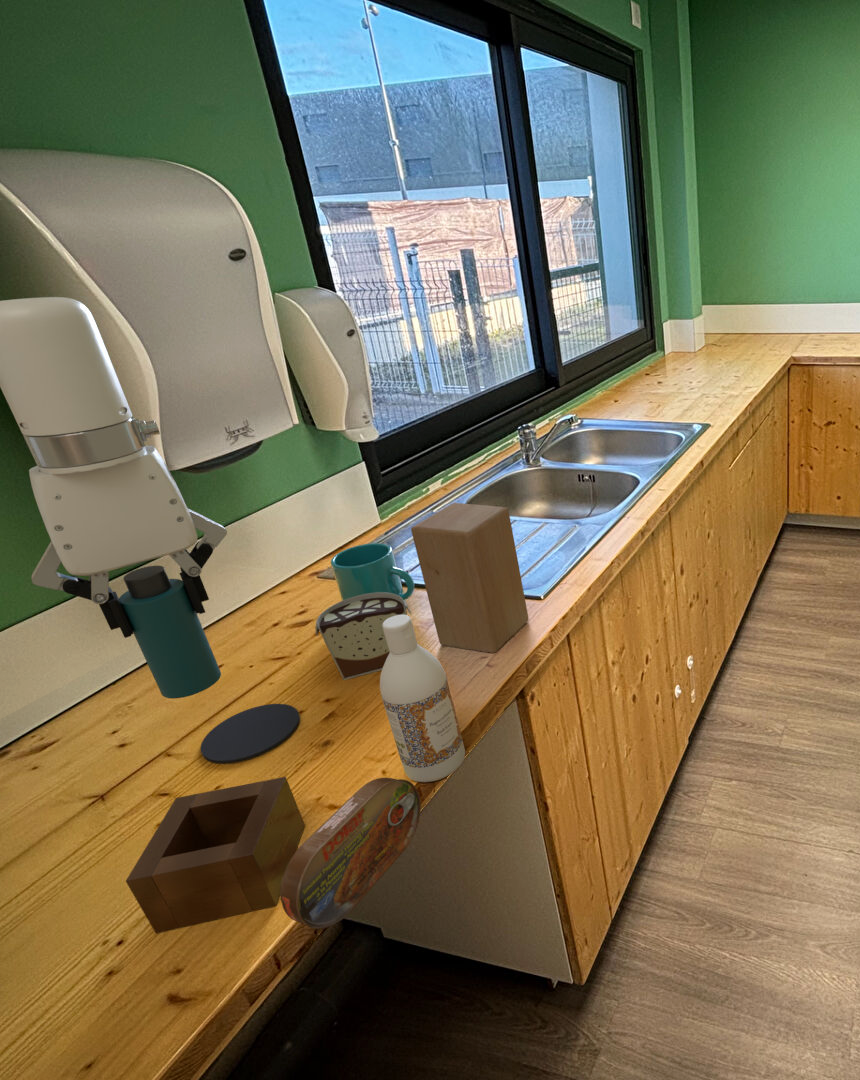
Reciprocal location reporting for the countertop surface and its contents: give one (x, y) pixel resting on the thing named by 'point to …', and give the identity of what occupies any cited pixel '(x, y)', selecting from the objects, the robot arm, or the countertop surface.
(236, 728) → the coaster
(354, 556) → the cup
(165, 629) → the bottle
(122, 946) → the countertop surface
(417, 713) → the bath foam
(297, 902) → the tin
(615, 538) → the countertop surface
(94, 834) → the countertop surface
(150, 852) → the holder
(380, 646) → the food container
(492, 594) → the wooden block
